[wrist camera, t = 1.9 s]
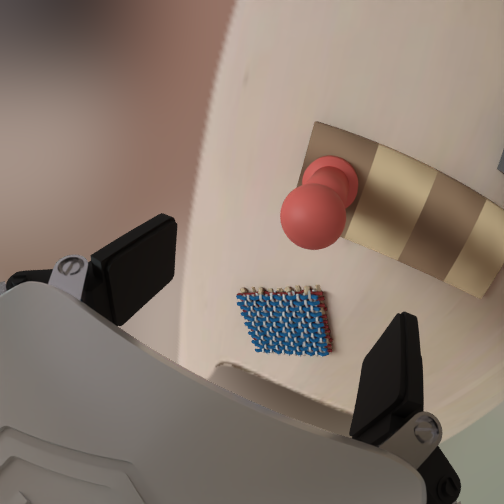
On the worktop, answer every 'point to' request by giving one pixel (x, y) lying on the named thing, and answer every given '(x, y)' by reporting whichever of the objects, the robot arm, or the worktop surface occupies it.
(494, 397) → the worktop surface
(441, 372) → the worktop surface
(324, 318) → the woven mat
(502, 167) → the die
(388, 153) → the board
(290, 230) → the pawn
